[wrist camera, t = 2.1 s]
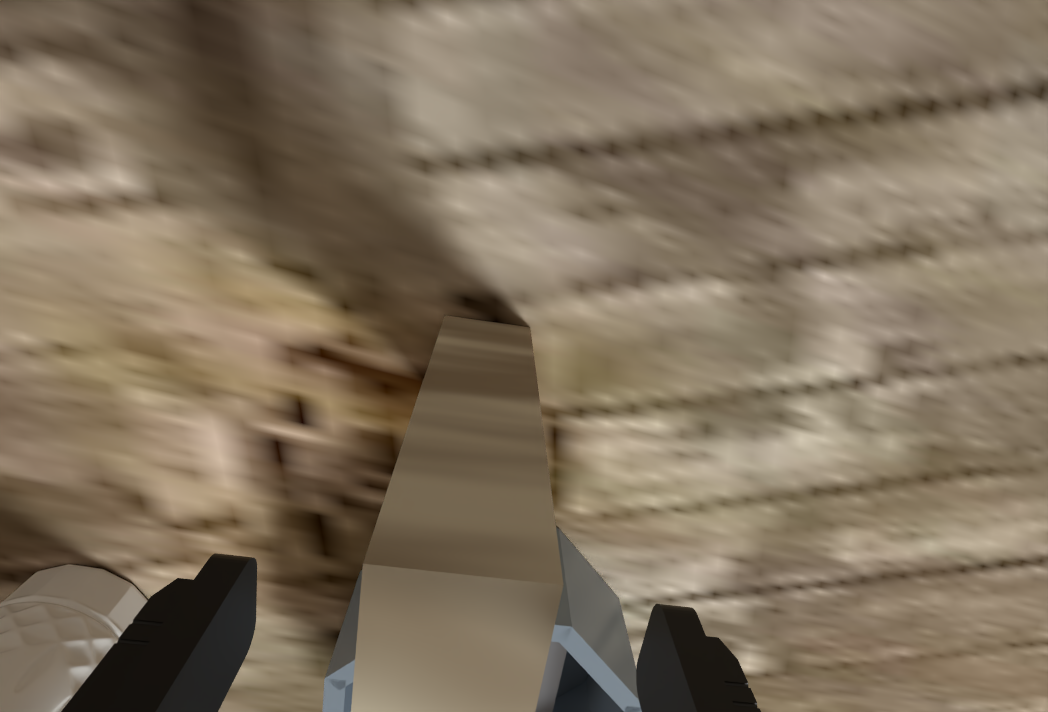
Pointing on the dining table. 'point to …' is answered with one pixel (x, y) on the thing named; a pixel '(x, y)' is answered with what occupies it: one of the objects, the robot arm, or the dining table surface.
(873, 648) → the dining table surface
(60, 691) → the white cup
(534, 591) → the tan square peg
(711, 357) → the dining table surface
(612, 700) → the blue octagonal holder
